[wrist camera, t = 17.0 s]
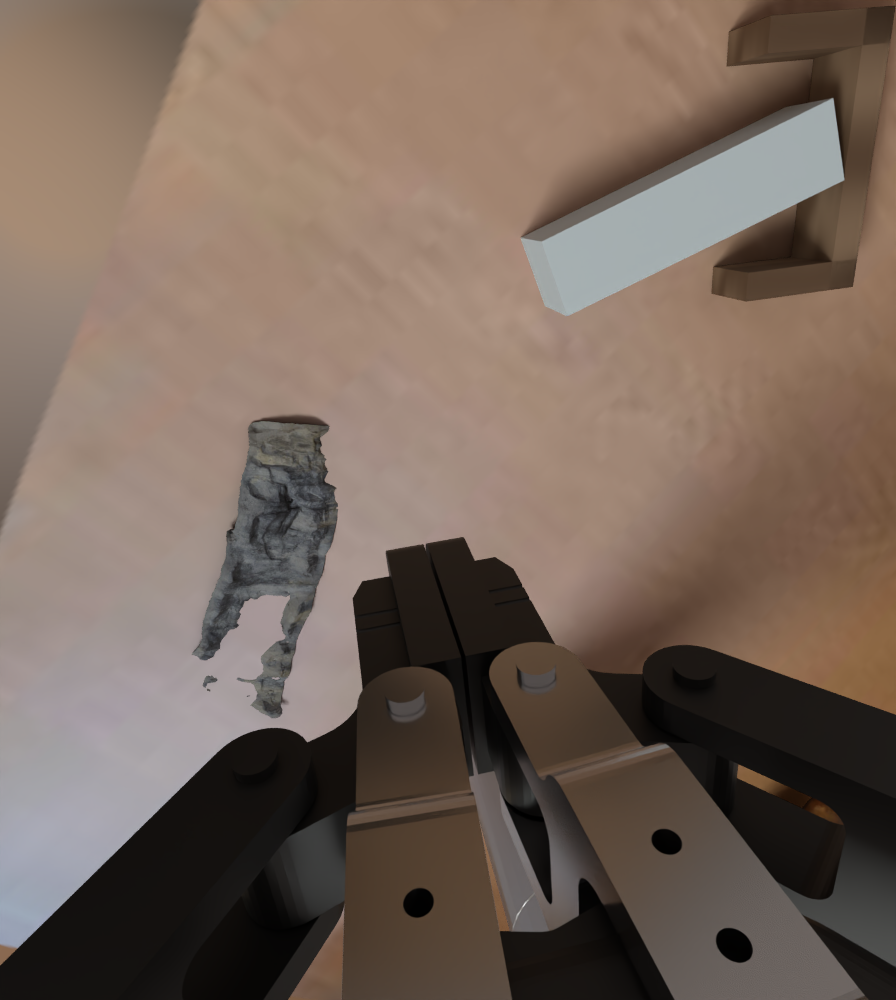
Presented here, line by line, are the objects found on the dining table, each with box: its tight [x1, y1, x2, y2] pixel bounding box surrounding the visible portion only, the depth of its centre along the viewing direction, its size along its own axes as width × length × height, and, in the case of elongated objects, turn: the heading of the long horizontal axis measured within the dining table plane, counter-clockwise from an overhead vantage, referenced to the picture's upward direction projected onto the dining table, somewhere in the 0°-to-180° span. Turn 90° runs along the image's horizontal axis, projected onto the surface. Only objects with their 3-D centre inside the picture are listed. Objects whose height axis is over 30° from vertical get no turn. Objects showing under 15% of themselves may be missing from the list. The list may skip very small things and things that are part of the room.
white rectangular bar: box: [521, 98, 844, 316], centre depth 36 cm, size 4×16×4 cm, turn 114°
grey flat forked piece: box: [192, 421, 338, 718], centre depth 42 cm, size 21×7×2 cm, turn 160°
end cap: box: [712, 6, 895, 301], centre depth 36 cm, size 13×6×4 cm, turn 5°
